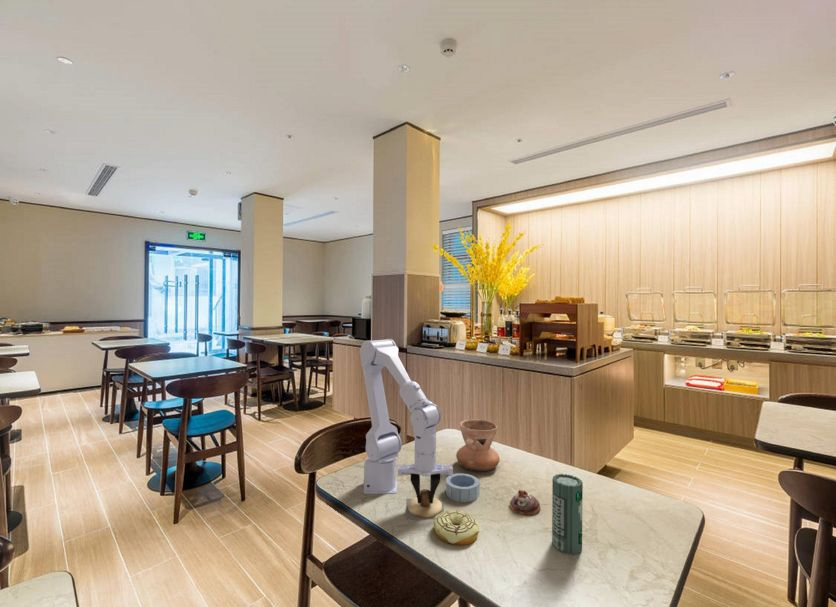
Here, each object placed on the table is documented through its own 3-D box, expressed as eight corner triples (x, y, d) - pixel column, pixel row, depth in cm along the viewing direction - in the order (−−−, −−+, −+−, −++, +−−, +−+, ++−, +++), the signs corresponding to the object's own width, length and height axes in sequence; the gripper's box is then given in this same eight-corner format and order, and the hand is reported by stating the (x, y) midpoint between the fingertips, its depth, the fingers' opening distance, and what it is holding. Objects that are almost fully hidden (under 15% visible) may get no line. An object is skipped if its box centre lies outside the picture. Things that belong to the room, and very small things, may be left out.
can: (587, 551, 85) (587, 484, 85) (564, 556, 84) (564, 488, 83) (569, 535, 91) (569, 472, 91) (547, 539, 89) (547, 475, 89)
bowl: (447, 503, 105) (447, 488, 105) (444, 486, 115) (444, 473, 115) (481, 503, 105) (481, 488, 105) (476, 486, 115) (476, 473, 115)
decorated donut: (453, 555, 84) (453, 538, 84) (425, 531, 93) (425, 515, 93) (487, 538, 90) (487, 522, 90) (457, 517, 99) (457, 502, 99)
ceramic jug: (489, 481, 119) (490, 435, 119) (447, 469, 126) (448, 426, 126) (507, 461, 134) (508, 421, 134) (468, 452, 141) (469, 414, 142)
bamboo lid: (408, 517, 97) (408, 500, 97) (408, 499, 106) (408, 483, 106) (443, 517, 98) (443, 500, 98) (440, 499, 107) (440, 483, 107)
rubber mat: (405, 520, 97) (405, 519, 97) (406, 500, 107) (406, 498, 107) (445, 520, 97) (445, 518, 97) (442, 500, 107) (442, 498, 107)
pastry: (508, 512, 101) (508, 493, 101) (511, 498, 108) (511, 481, 108) (539, 518, 98) (539, 499, 98) (541, 504, 105) (541, 486, 105)
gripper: (397, 456, 98) (397, 509, 98) (454, 456, 98) (453, 509, 98) (398, 446, 105) (398, 495, 105) (451, 446, 105) (451, 495, 105)
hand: (425, 501), depth 102 cm, fingers closed on bamboo lid, 3 cm apart
